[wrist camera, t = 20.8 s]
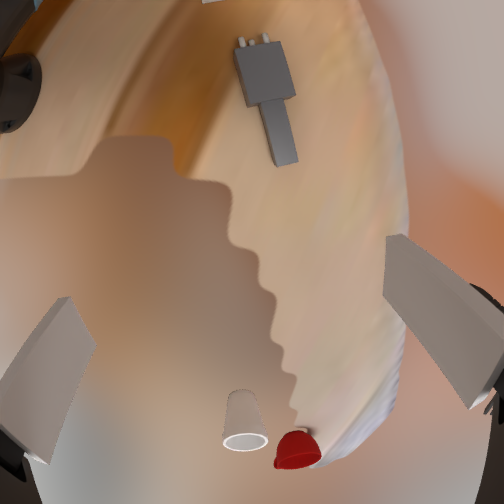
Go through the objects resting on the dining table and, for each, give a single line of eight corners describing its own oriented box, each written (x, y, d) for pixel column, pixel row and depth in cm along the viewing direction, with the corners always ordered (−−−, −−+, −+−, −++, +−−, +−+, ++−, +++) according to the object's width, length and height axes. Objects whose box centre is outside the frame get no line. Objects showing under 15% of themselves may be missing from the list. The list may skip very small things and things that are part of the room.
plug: (301, 157, 39) (311, 160, 34) (262, 166, 39) (267, 170, 35) (270, 40, 31) (276, 28, 27) (229, 47, 31) (230, 36, 27)
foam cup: (268, 390, 59) (276, 436, 47) (251, 410, 62) (255, 453, 50) (231, 381, 56) (233, 430, 45) (215, 402, 60) (216, 447, 48)
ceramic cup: (256, 445, 71) (259, 471, 62) (293, 421, 66) (299, 450, 57) (286, 450, 75) (291, 474, 66) (323, 428, 70) (330, 454, 61)
